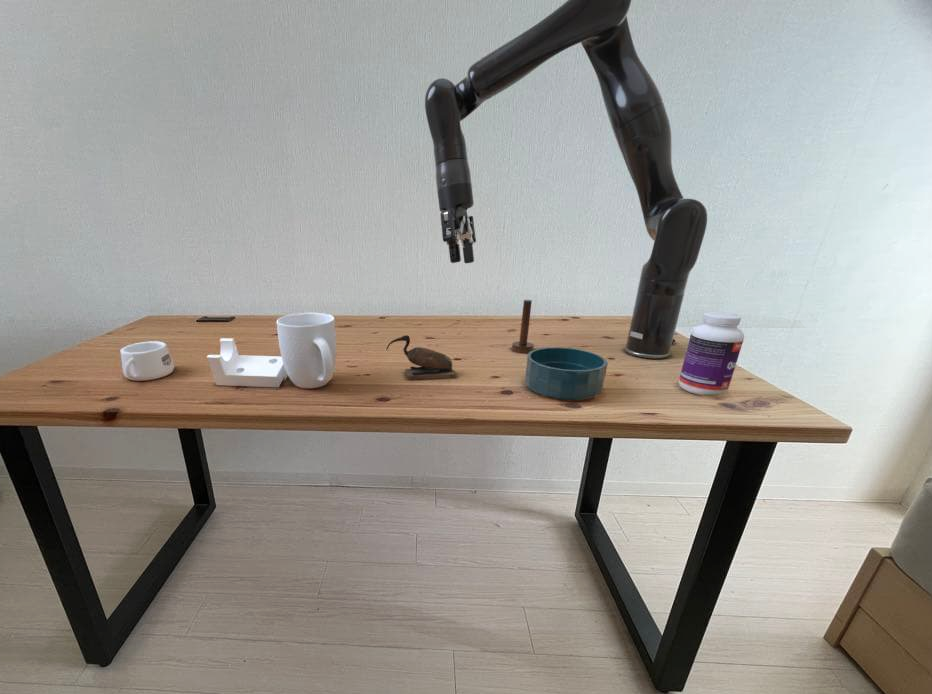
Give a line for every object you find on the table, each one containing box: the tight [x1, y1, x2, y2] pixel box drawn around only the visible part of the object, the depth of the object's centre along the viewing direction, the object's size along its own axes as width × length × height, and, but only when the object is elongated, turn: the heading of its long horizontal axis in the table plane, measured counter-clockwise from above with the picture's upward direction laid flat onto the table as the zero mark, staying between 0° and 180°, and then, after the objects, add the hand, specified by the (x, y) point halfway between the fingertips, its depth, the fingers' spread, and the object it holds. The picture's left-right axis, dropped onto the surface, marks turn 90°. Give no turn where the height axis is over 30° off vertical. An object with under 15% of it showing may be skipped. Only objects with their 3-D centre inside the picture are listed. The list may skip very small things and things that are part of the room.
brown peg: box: [511, 299, 535, 354], centre depth 108 cm, size 5×5×12 cm
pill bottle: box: [677, 310, 745, 397], centre depth 83 cm, size 8×8×14 cm
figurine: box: [385, 334, 456, 381], centre depth 93 cm, size 14×4×9 cm, turn 96°
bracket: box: [206, 337, 289, 388], centre depth 91 cm, size 13×7×8 cm, turn 83°
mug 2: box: [276, 312, 338, 389], centre depth 88 cm, size 15×11×13 cm
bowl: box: [524, 346, 609, 401], centre depth 87 cm, size 14×14×6 cm
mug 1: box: [120, 340, 175, 382], centre depth 95 cm, size 12×10×6 cm
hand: (462, 262), depth 103 cm, fingers open, 8 cm apart
